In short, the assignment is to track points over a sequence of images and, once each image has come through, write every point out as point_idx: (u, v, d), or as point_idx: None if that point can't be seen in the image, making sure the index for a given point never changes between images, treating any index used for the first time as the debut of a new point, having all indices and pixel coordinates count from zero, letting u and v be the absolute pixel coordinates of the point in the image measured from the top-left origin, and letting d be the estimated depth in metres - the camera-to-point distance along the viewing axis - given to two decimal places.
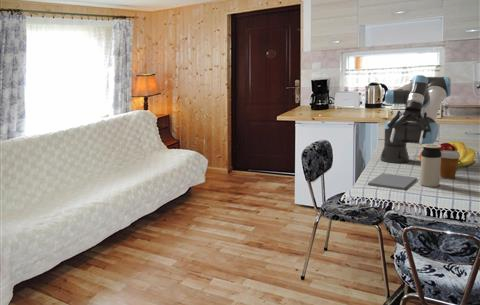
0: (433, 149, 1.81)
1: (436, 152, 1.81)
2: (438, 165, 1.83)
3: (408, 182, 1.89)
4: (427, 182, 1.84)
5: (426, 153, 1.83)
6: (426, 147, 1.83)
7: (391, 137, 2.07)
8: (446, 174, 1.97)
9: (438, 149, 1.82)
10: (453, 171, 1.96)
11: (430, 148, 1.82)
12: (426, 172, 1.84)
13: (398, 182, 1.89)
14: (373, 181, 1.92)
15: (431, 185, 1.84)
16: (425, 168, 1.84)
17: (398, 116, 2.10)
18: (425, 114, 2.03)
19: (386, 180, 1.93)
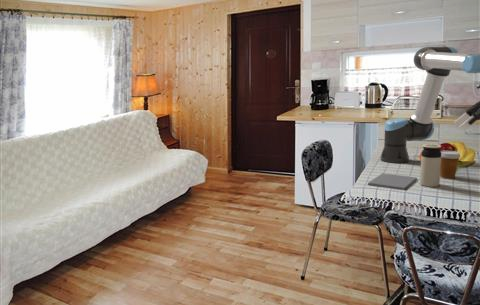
0: (433, 149, 1.81)
1: (436, 152, 1.81)
2: (438, 165, 1.83)
3: (408, 182, 1.89)
4: (427, 182, 1.84)
5: (426, 153, 1.83)
6: (426, 147, 1.83)
7: (466, 129, 1.73)
8: (446, 174, 1.97)
9: (438, 149, 1.82)
10: (453, 171, 1.96)
11: (430, 148, 1.82)
12: (426, 172, 1.84)
13: (398, 182, 1.89)
14: (373, 181, 1.92)
15: (431, 185, 1.84)
16: (425, 168, 1.84)
17: None
18: None
19: (386, 180, 1.93)
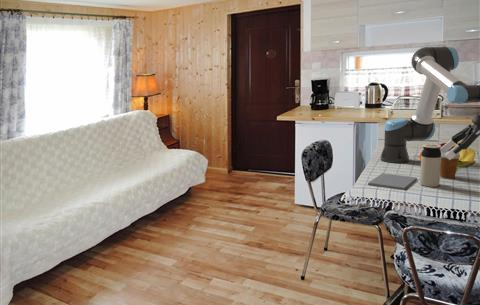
0: (433, 149, 1.81)
1: (436, 152, 1.81)
2: (438, 165, 1.83)
3: (408, 182, 1.89)
4: (427, 182, 1.84)
5: (426, 153, 1.83)
6: (426, 147, 1.83)
7: None
8: (446, 174, 1.97)
9: (438, 149, 1.82)
10: (453, 171, 1.96)
11: (430, 148, 1.82)
12: (426, 172, 1.84)
13: (398, 182, 1.89)
14: (373, 181, 1.92)
15: (431, 185, 1.84)
16: (425, 168, 1.84)
17: None
18: None
19: (386, 180, 1.93)
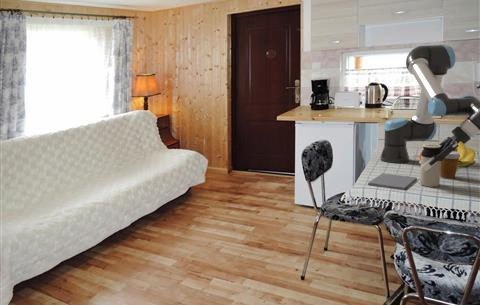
0: (433, 149, 1.81)
1: (436, 152, 1.81)
2: (438, 165, 1.83)
3: (408, 182, 1.89)
4: (427, 182, 1.84)
5: (426, 153, 1.83)
6: (426, 147, 1.83)
7: (427, 169, 1.83)
8: (446, 174, 1.97)
9: (438, 149, 1.82)
10: (453, 171, 1.96)
11: (430, 148, 1.82)
12: (426, 172, 1.84)
13: (398, 182, 1.89)
14: (373, 181, 1.92)
15: (431, 185, 1.84)
16: None
17: None
18: None
19: (386, 180, 1.93)
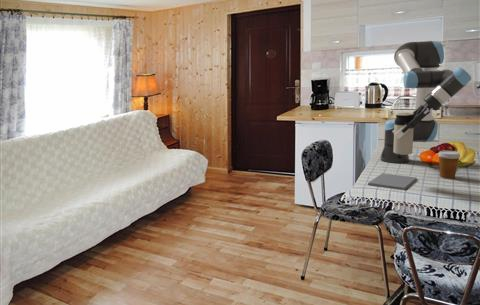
0: (405, 117, 1.82)
1: (408, 120, 1.82)
2: (411, 133, 1.84)
3: (408, 182, 1.89)
4: (400, 150, 1.85)
5: (399, 121, 1.84)
6: (399, 115, 1.84)
7: (400, 137, 1.84)
8: (446, 174, 1.97)
9: (410, 117, 1.83)
10: (453, 171, 1.96)
11: (402, 116, 1.82)
12: (399, 140, 1.85)
13: (398, 182, 1.89)
14: (373, 181, 1.92)
15: (404, 153, 1.85)
16: None
17: None
18: None
19: (386, 180, 1.93)
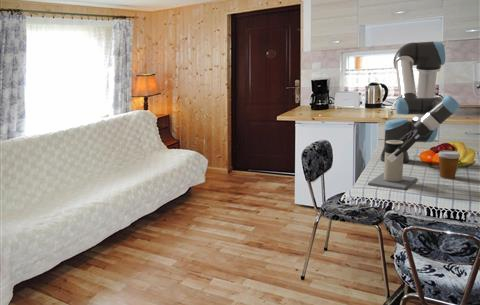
0: (395, 145, 1.87)
1: None
2: (400, 161, 1.88)
3: (408, 182, 1.89)
4: (390, 177, 1.90)
5: (389, 149, 1.88)
6: (389, 143, 1.88)
7: (393, 160, 1.85)
8: (446, 174, 1.97)
9: (400, 145, 1.87)
10: (453, 171, 1.96)
11: (392, 144, 1.87)
12: (389, 168, 1.90)
13: (398, 182, 1.89)
14: (373, 181, 1.92)
15: (394, 180, 1.90)
16: (388, 164, 1.90)
17: None
18: None
19: None
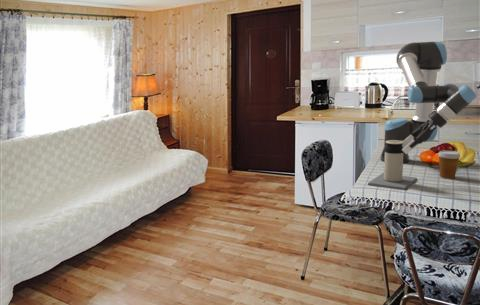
0: (395, 145, 1.87)
1: (398, 148, 1.87)
2: (400, 161, 1.88)
3: (408, 182, 1.89)
4: (390, 177, 1.90)
5: (389, 149, 1.88)
6: (389, 143, 1.88)
7: (408, 152, 1.82)
8: (446, 174, 1.97)
9: (400, 145, 1.87)
10: (453, 171, 1.96)
11: (392, 144, 1.87)
12: (389, 168, 1.90)
13: (398, 182, 1.89)
14: (373, 181, 1.92)
15: (394, 180, 1.90)
16: (388, 164, 1.90)
17: None
18: None
19: None
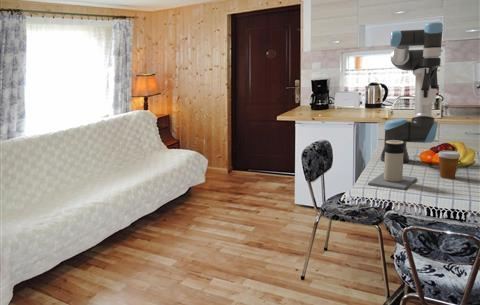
0: (395, 145, 1.87)
1: (398, 148, 1.87)
2: (400, 161, 1.88)
3: (408, 182, 1.89)
4: (390, 177, 1.90)
5: (389, 149, 1.88)
6: (389, 143, 1.88)
7: (428, 102, 1.92)
8: (446, 174, 1.97)
9: (400, 145, 1.87)
10: (453, 171, 1.96)
11: (392, 144, 1.87)
12: (389, 168, 1.90)
13: (398, 182, 1.89)
14: (373, 181, 1.92)
15: (394, 180, 1.90)
16: (388, 164, 1.90)
17: None
18: (436, 70, 1.99)
19: None
